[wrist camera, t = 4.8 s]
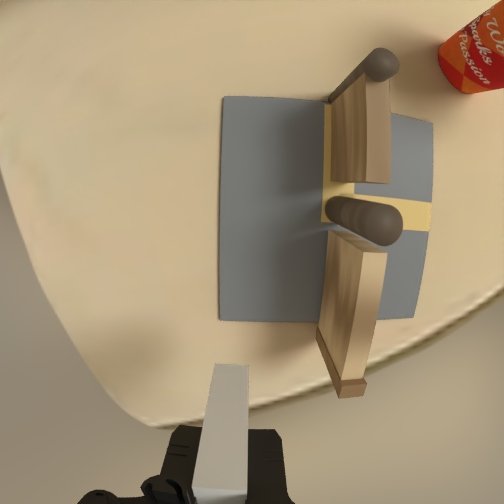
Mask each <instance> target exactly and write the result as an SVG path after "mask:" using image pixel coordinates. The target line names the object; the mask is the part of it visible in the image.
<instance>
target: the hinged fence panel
mask: <svg viewBox="0 0 504 504" xmlns="http://www.w3.org/2000/svg"><path fill="white" fill-rule="evenodd" d="M387 254H388V253H387V252H385V251H383V250H381V249H379V248H378V247H376V246H374V245H372V244H370V243H368V242H367V241H365V240H363V239H361V238H359V237H357V236H356V235H354V234H352V233H350V232H348V231H342V230H328V242H327V254H326V265H325V275H324V284H323V293H322V302H321V310H320V318H319V325H318V327H317V331H316V341H317V343H318V346H319V348H320V351H321V353H322V356H323V359H324V361H325V364H326V366H327V369H328V372H329V374H330V377H331V379H332V382H333V385H334V387H335V390H336V393H337V395H338V398H350V397H359V396H363V395H364V391H365V388H366V385H367V383H366V381H365V379H364V377H363V374H364V370H365V367H366V363H367V359H368V355H369V351H370V347H371V343H372V338H373V334H374V329H375V325H376V320H377V315H378V310H379V305H380V299H381V294H382V288H383V282H384V275H385V269H386V261H387Z"/></svg>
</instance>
